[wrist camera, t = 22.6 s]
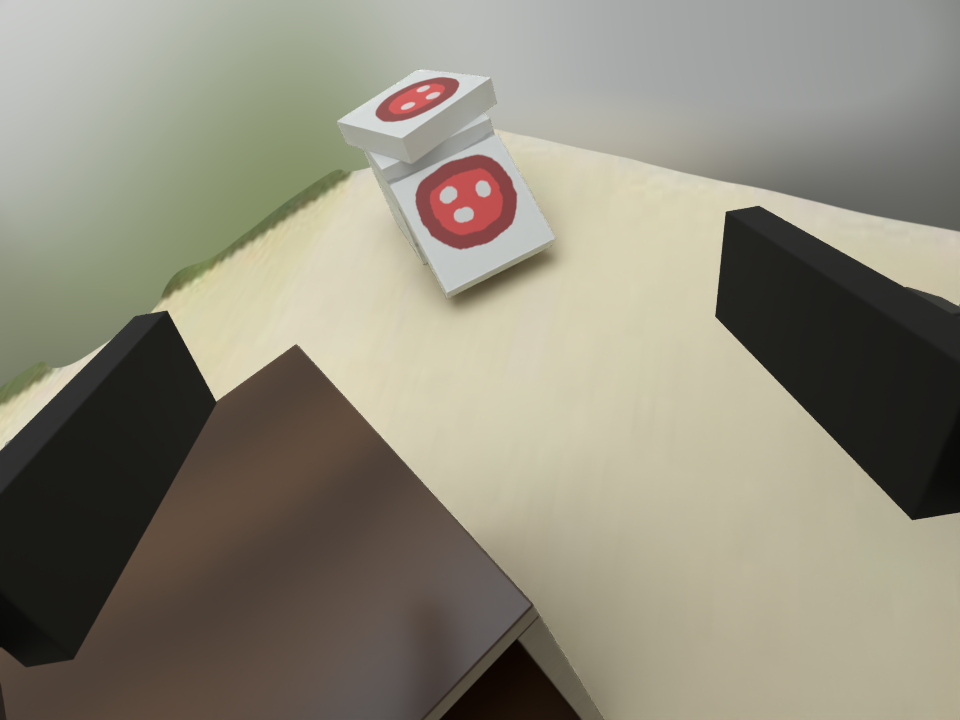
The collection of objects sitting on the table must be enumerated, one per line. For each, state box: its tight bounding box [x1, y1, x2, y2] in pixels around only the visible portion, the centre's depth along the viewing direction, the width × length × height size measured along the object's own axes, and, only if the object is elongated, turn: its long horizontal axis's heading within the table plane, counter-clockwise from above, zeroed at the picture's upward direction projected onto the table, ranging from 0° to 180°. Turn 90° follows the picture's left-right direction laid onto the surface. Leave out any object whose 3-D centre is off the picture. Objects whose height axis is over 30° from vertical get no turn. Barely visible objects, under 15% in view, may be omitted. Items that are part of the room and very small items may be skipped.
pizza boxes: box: [337, 69, 556, 299], centre depth 70 cm, size 19×30×18 cm, turn 24°
